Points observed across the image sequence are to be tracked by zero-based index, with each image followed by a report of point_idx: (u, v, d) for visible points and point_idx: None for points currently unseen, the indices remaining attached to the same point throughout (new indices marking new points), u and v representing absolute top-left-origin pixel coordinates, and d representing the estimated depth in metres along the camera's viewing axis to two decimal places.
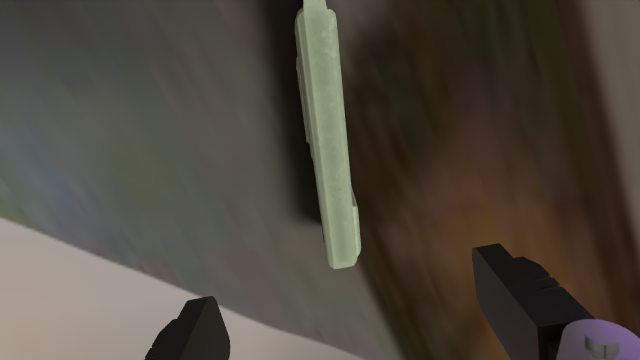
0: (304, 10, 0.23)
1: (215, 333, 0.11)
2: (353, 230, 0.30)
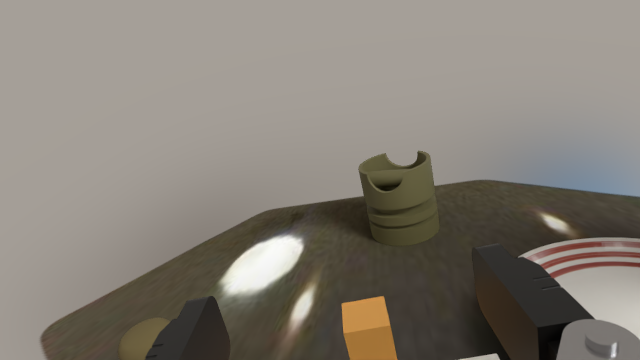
0: None
1: (215, 333, 0.11)
2: None
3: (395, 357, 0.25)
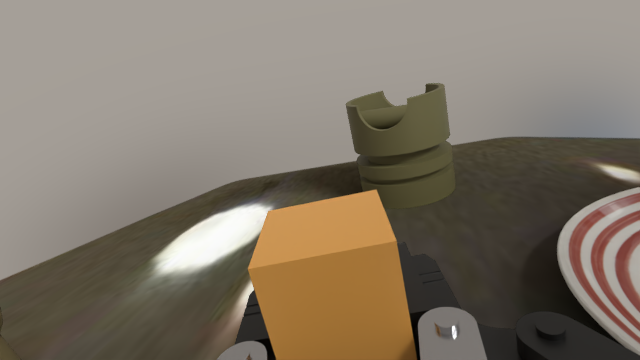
0: None
1: None
2: None
3: (411, 348, 0.08)
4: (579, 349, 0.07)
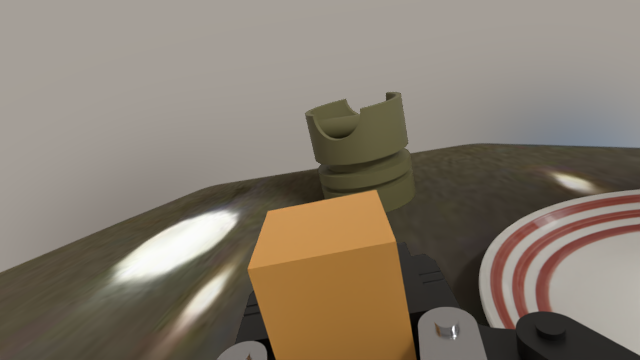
0: None
1: None
2: None
3: (410, 348, 0.08)
4: (579, 349, 0.07)
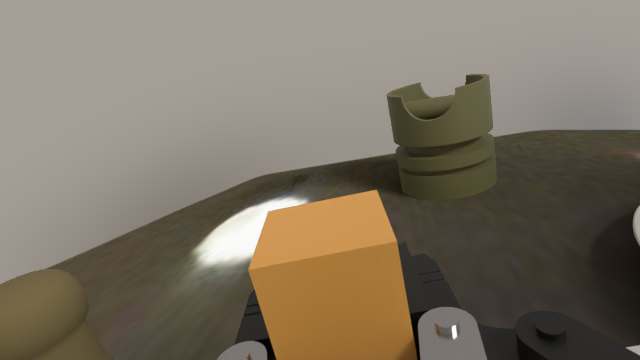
0: None
1: None
2: None
3: (411, 348, 0.08)
4: (579, 349, 0.07)
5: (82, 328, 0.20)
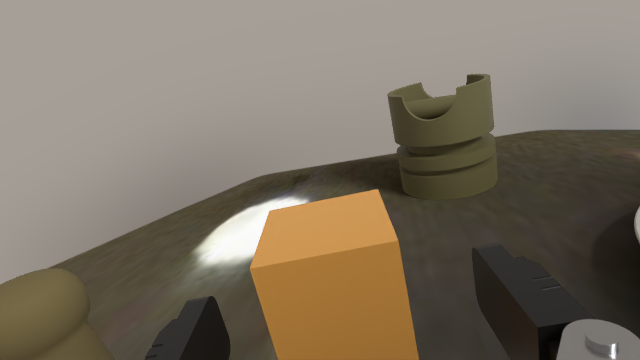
0: None
1: (215, 333, 0.11)
2: None
3: (412, 347, 0.08)
4: None
5: (84, 327, 0.20)
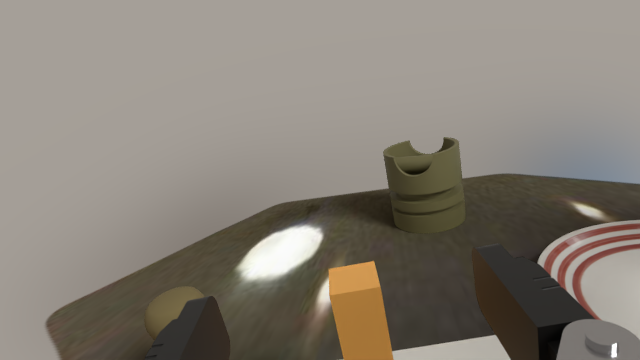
0: None
1: (215, 333, 0.11)
2: None
3: (385, 324, 0.23)
4: None
5: None
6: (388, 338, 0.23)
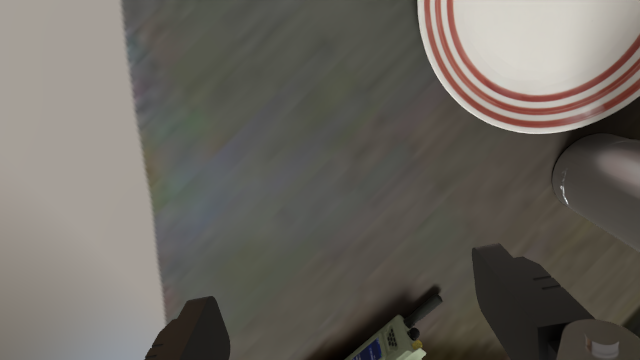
0: (413, 352, 0.44)
1: (215, 333, 0.11)
2: None
3: None
4: None
5: None
6: None
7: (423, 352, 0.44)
